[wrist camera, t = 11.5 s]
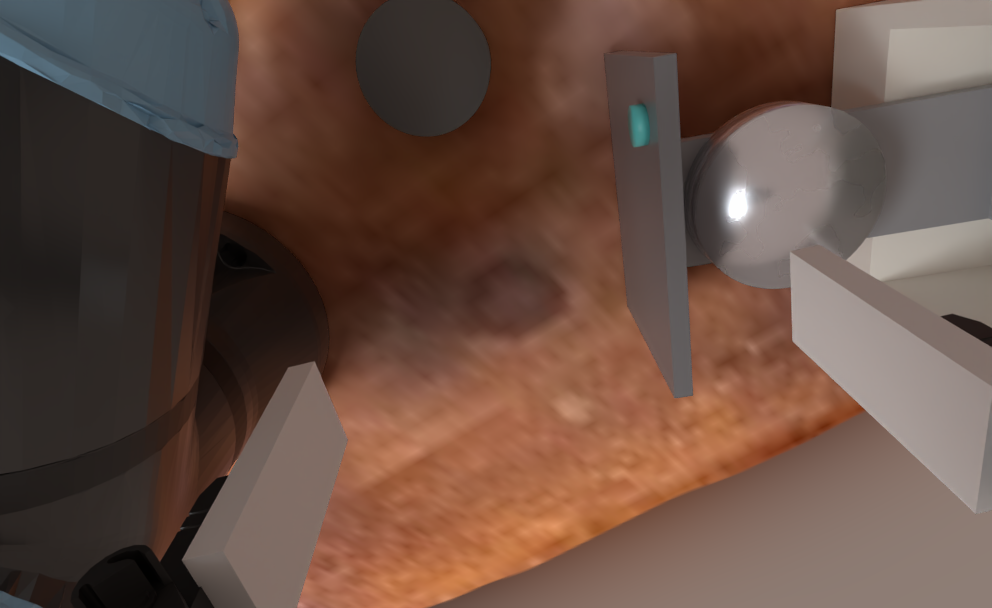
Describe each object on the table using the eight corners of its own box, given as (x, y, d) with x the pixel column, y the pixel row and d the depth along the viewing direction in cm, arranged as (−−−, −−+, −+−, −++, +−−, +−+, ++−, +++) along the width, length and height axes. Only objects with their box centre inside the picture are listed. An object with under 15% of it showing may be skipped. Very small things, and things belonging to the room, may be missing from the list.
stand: (395, 129, 31) (374, 146, 26) (368, 13, 29) (339, 6, 24) (499, 110, 31) (500, 124, 26) (480, -9, 29) (476, -21, 23)
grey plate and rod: (619, 307, 35) (663, 399, 26) (593, 55, 30) (638, 59, 20) (930, 257, 34) (1092, 336, 25) (965, -14, 28) (1190, -43, 19)
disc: (686, 285, 29) (699, 301, 27) (678, 118, 26) (692, 124, 24) (853, 258, 29) (878, 273, 27) (866, 85, 25) (895, 88, 24)
